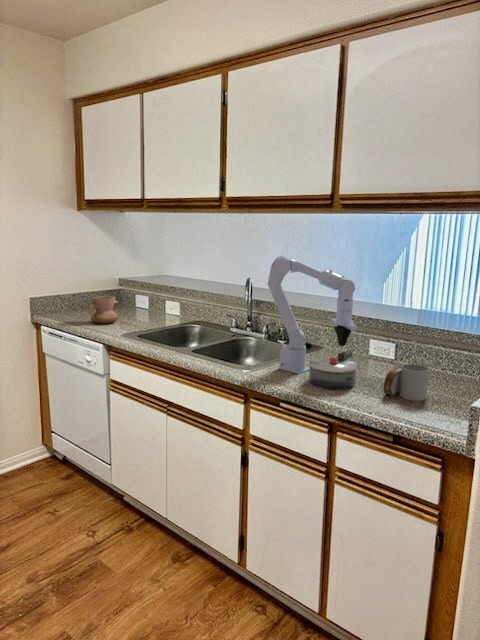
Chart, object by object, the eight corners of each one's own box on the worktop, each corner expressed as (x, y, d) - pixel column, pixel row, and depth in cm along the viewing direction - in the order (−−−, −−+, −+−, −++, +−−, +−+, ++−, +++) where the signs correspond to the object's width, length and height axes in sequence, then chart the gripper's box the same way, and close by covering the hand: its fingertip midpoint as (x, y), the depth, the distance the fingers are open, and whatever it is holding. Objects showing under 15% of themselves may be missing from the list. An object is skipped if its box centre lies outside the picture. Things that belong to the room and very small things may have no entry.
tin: (399, 385, 173) (401, 363, 171) (407, 388, 171) (410, 364, 169) (381, 396, 161) (383, 372, 160) (390, 399, 159) (393, 374, 158)
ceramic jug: (110, 318, 278) (109, 294, 275) (125, 322, 268) (124, 296, 266) (82, 323, 265) (80, 297, 262) (97, 327, 255) (95, 300, 252)
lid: (343, 376, 162) (344, 367, 161) (301, 366, 172) (301, 358, 171) (369, 363, 178) (370, 355, 178) (329, 354, 188) (330, 347, 188)
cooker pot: (300, 382, 173) (301, 366, 172) (329, 370, 189) (330, 355, 188) (341, 393, 163) (342, 376, 162) (368, 379, 179) (369, 363, 178)
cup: (429, 396, 163) (433, 367, 161) (420, 402, 157) (423, 372, 155) (405, 390, 168) (408, 362, 166) (395, 396, 162) (397, 367, 160)
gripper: (364, 313, 178) (362, 349, 180) (342, 306, 191) (340, 340, 194) (348, 314, 175) (345, 350, 178) (327, 307, 188) (325, 341, 191)
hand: (342, 345), depth 185 cm, fingers closed
